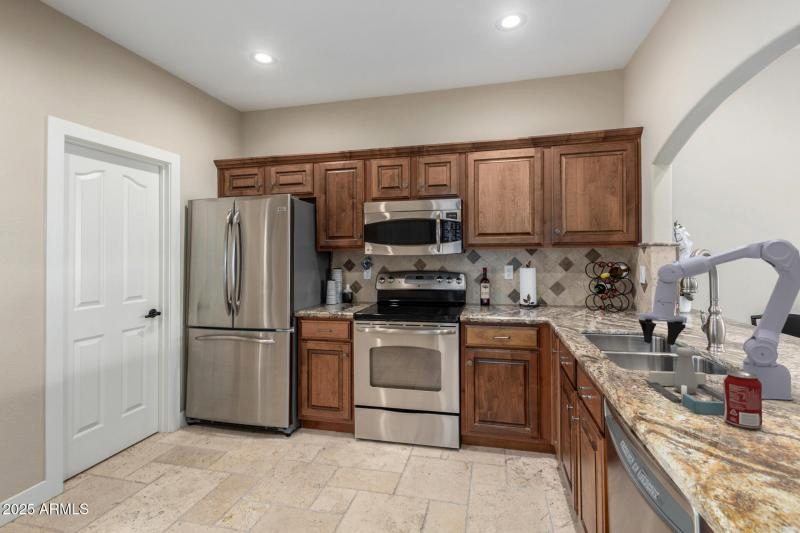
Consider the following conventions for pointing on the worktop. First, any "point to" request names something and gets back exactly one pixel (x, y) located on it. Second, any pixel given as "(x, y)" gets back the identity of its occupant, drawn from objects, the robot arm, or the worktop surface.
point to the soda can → (742, 399)
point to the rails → (677, 399)
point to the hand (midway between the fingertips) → (658, 343)
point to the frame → (701, 404)
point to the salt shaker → (685, 370)
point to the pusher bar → (670, 373)
